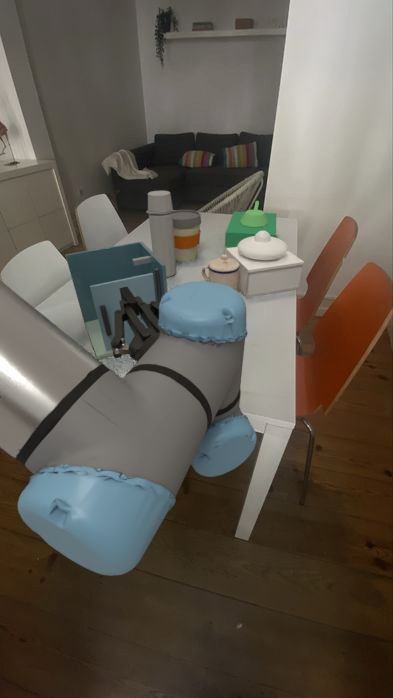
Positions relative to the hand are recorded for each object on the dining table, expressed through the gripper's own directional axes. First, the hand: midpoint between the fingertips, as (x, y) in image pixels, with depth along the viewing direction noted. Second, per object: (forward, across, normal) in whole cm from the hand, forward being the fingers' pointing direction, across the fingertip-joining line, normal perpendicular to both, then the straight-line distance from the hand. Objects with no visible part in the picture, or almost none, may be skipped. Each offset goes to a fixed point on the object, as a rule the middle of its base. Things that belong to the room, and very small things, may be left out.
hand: (124, 293), depth 60 cm
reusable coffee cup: (+52, +34, -18) cm, 64 cm away
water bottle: (+42, +22, -18) cm, 50 cm away
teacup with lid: (+22, +32, -18) cm, 43 cm away
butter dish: (+22, +47, -18) cm, 55 cm away
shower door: (+6, +1, -16) cm, 17 cm away
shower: (+14, +1, -17) cm, 22 cm away
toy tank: (+54, +66, -18) cm, 87 cm away
